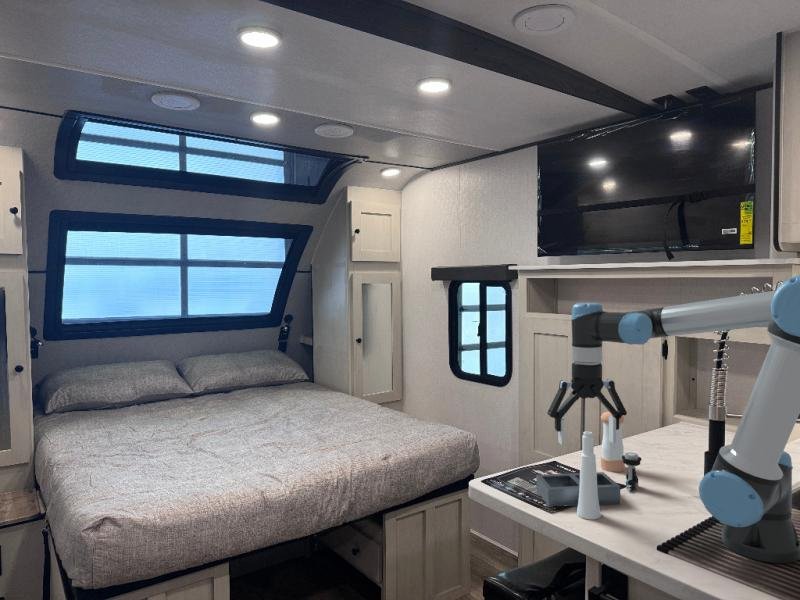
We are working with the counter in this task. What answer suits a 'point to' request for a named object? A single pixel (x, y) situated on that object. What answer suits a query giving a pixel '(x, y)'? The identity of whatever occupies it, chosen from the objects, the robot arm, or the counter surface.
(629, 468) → the push button
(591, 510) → the cosmetic bottle
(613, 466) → the pepper shaker
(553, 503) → the square-hole rail
